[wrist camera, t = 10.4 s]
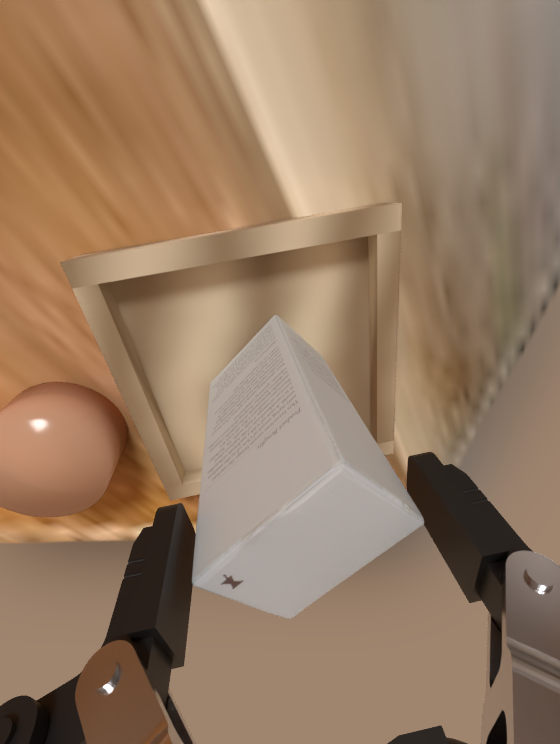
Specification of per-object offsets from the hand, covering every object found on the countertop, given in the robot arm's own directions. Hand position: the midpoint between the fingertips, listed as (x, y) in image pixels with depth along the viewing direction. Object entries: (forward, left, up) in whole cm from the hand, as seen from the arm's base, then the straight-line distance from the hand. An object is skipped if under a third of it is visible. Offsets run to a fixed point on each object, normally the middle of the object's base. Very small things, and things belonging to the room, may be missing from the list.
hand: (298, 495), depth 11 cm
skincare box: (0, 0, -10) cm, 10 cm away
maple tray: (0, 0, -11) cm, 11 cm away
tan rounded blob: (+13, +2, -11) cm, 17 cm away
